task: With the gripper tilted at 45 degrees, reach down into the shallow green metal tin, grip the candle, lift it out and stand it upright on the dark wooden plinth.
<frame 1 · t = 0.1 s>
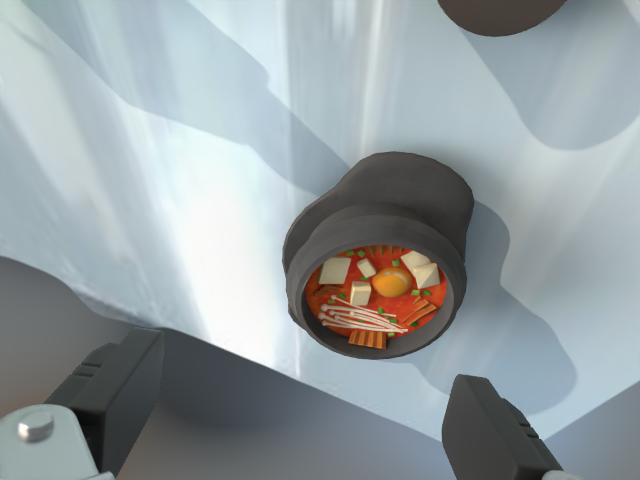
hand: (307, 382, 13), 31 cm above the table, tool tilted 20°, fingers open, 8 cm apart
casserole: (371, 250, 49), on the table
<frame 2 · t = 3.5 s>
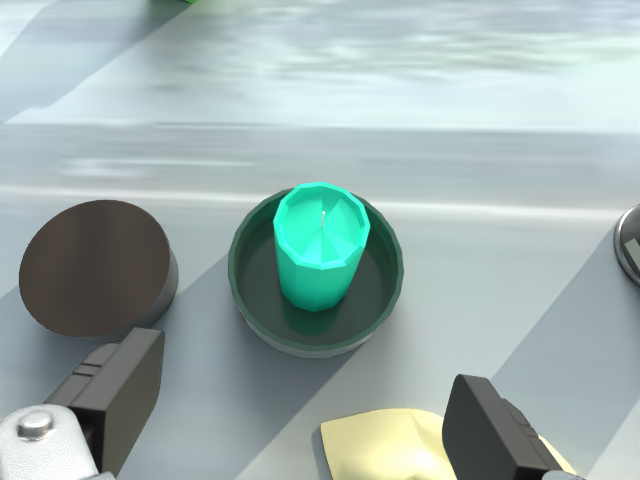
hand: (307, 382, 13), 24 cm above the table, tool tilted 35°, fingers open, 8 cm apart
tin: (314, 277, 38), on the table
candle: (314, 277, 38), resting on tin
stand: (115, 280, 37), on the table
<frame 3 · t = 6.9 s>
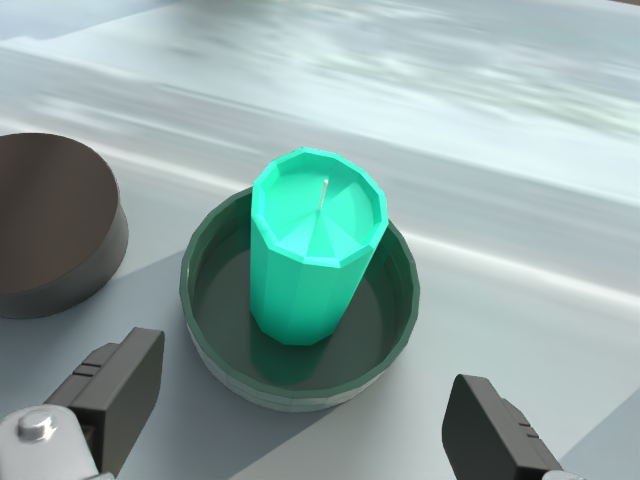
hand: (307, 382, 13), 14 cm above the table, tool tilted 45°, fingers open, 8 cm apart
tin: (297, 301, 29), on the table
candle: (297, 300, 29), resting on tin
stand: (42, 242, 28), on the table
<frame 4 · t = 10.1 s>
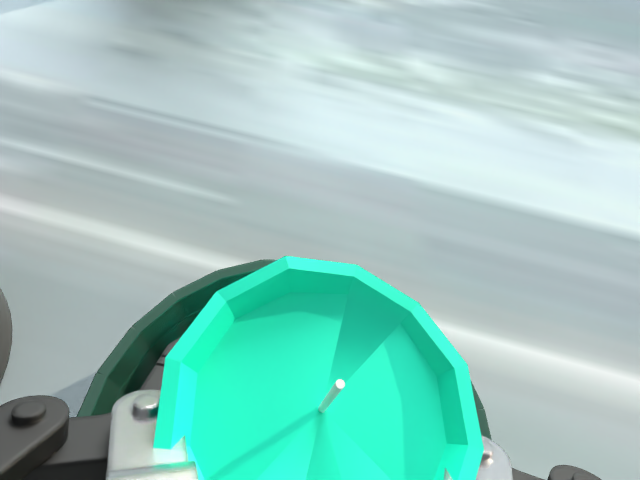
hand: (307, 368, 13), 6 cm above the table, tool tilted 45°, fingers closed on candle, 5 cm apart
tin: (284, 459, 18), on the table
candle: (284, 458, 17), resting on tin, touching gripper
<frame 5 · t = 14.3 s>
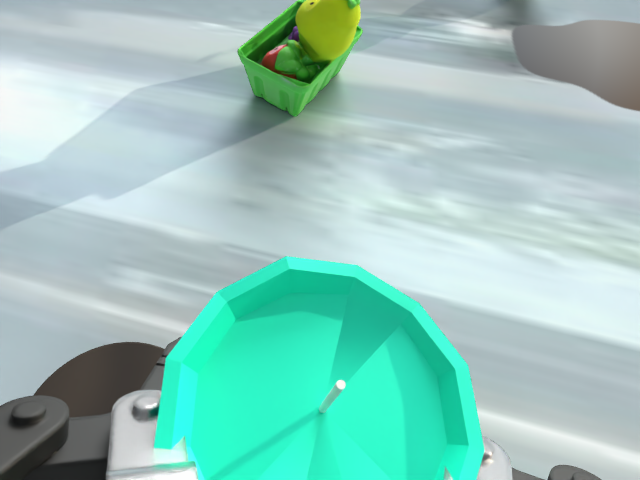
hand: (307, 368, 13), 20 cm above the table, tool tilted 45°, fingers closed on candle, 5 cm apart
candle: (284, 459, 17), point 14 cm above the table, touching gripper
fruit basket: (302, 86, 48), on the table
stand: (130, 441, 29), on the table
when the fingers open (10 cm above the table, at t = 18.9 s): candle stays where it is, resting on stand.
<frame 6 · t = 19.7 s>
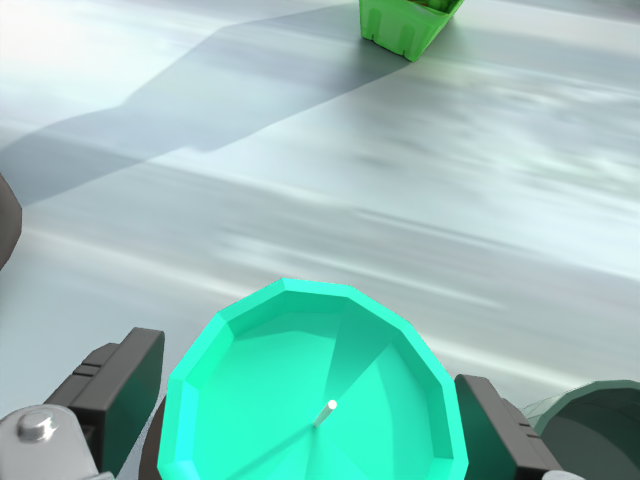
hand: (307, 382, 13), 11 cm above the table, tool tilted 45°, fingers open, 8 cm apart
candle: (282, 465, 18), point 4 cm above the table, touching stand
fruit basket: (414, 29, 40), on the table
stand: (276, 468, 21), on the table
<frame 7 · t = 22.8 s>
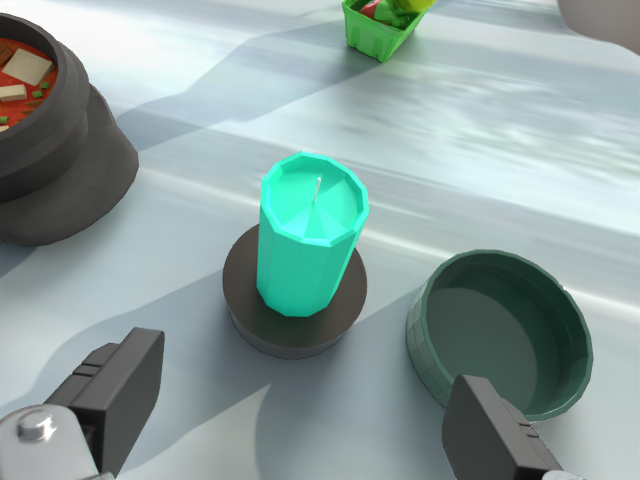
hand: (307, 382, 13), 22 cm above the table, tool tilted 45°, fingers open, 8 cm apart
casserole: (6, 152, 40), on the table
tin: (484, 342, 38), on the table
candle: (296, 279, 34), point 4 cm above the table, touching stand
fruit basket: (386, 39, 56), on the table
stand: (291, 297, 37), on the table
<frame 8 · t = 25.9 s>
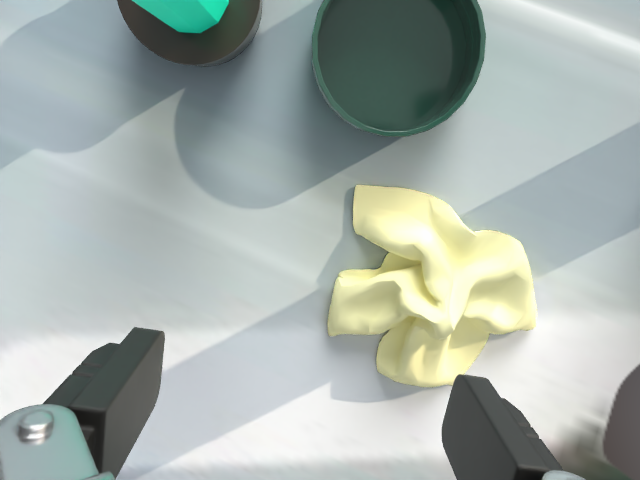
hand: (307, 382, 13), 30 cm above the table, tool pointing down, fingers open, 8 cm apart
cloth: (419, 286, 44), on the table
tin: (390, 54, 39), on the table
stand: (200, 1, 37), on the table
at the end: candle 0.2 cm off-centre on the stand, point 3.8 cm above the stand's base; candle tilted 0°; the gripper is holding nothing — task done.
